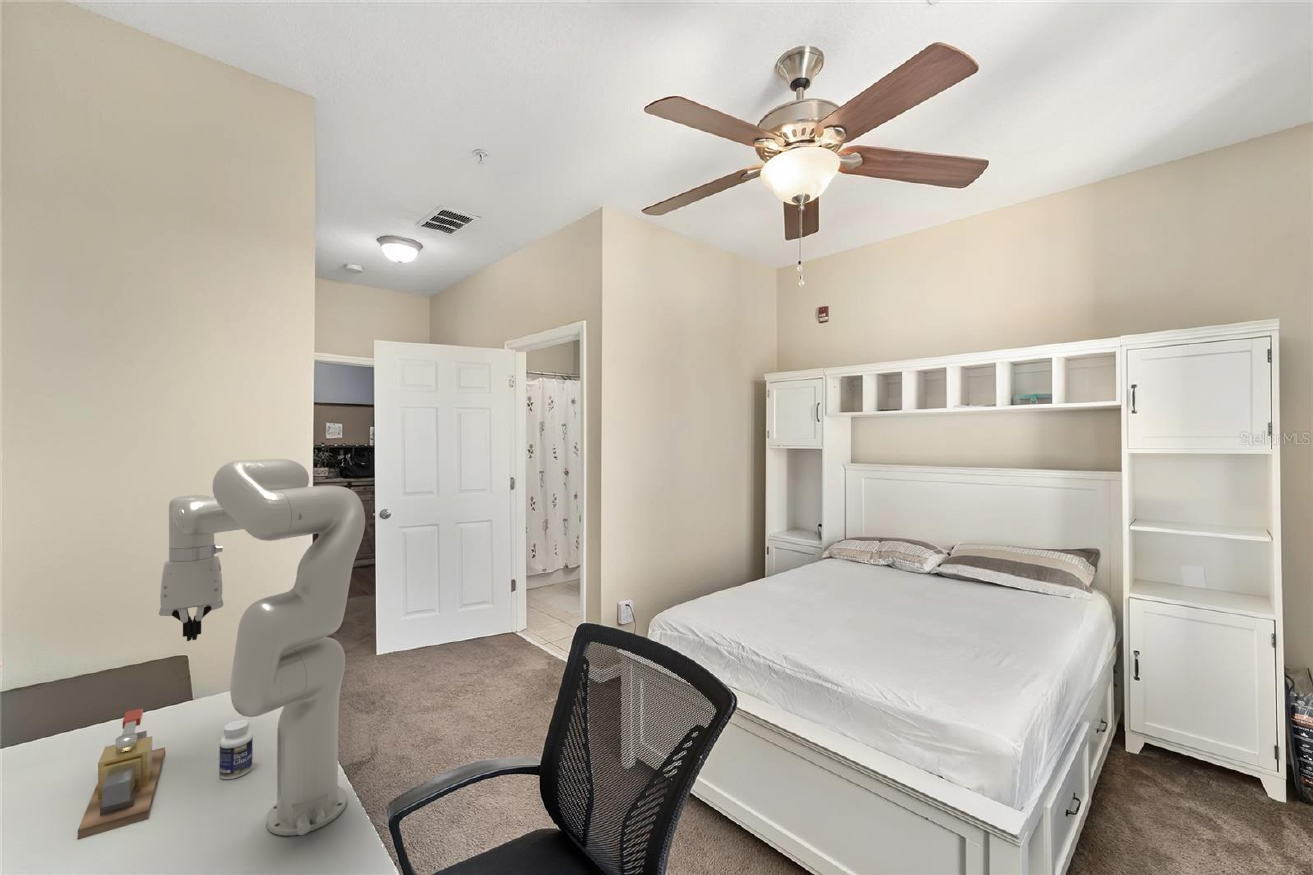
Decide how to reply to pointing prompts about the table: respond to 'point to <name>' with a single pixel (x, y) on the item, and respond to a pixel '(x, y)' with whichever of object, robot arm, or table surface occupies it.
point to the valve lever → (129, 730)
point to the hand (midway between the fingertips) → (192, 638)
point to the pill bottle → (235, 750)
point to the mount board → (138, 812)
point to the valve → (124, 774)
